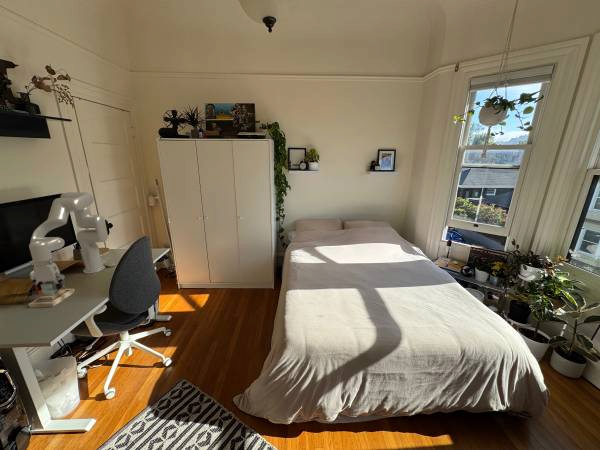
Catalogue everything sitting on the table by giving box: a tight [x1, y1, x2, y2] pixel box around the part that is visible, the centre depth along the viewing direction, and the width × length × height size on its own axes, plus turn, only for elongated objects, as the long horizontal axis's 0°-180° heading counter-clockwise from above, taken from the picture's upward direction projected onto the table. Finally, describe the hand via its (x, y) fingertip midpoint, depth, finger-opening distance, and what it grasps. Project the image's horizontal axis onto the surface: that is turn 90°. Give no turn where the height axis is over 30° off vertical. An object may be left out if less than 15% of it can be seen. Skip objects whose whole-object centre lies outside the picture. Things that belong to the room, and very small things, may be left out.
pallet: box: [38, 280, 66, 300], centre depth 142 cm, size 9×7×8 cm
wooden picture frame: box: [28, 288, 76, 309], centre depth 143 cm, size 16×12×2 cm
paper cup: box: [29, 270, 47, 295], centre depth 150 cm, size 8×8×14 cm
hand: (50, 289), depth 142 cm, fingers open, 9 cm apart
